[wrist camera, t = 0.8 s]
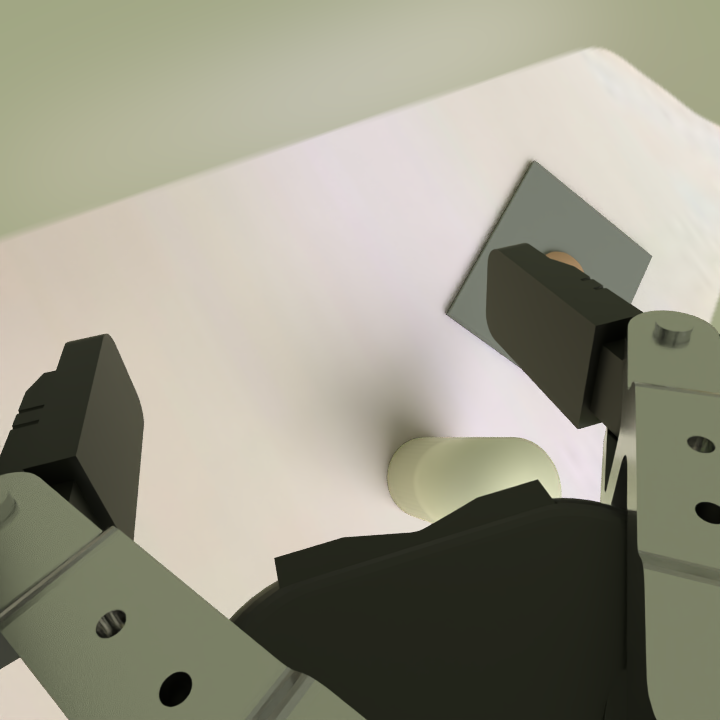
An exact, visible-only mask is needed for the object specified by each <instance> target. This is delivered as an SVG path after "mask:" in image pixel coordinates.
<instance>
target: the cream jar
mask: <svg viewBox="0 0 720 720" xmlns="http://www.w3.org/2000/svg"><path fill="white" fill-rule="evenodd" d="M537 479H538V480H539V481H540V483H541V484H542V485H543V487H544V488H545V489H546V491H547V492H548V493H549V495H550V496H551V497H552V498H561V484H560V479H559V475H558V472H557V470H556V467H555V465H554V463H553V462H552V460H551V459H550V457H549V456H548V455H547V453H546V452H545V451H544V450H543V449H542V448H540V447H539V446H538V445H536V444H535V443H533V442H531V441H529V440H526V439H522V438H516V437H421V438H415V439H412V440H410V441H408V442H406V443H405V444H403V445H402V446H401V447H400V448H399V449H398V450H397V451H396V452H395V454H394V455H393V457H392V459H391V461H390V464H389V468H388V474H387V483H388V488H389V492H390V494H391V497H392V499H393V500H394V502H395V503H396V505H397V506H398V507H399V508H400V509H401V510H402V511H404V512H405V513H407V514H408V515H410V516H413V517H416V518H419V519H422V520H425V521H427V522H430V523H435V522H436V521H438V520H440V519H441V518H443V517H445V516H447V515H448V514H450V513H452V512H453V511H455V510H457V509H458V508H460V507H462V506H464V505H465V504H467V503H469V502H470V501H472V500H474V499H475V498H477V497H480V496H484V495H487V494H490V493H494V492H497V491H500V490H504V489H507V488H510V487H514V486H517V485H521V484H524V483H527V482H531V481H534V480H537Z"/></svg>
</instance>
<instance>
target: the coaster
mask: <svg viewBox="0 0 720 720" xmlns="http://www.w3.org/2000/svg"><path fill="white" fill-rule="evenodd" d="M546 256H547V257H549V258H550V259H554V260H557V261H560V262H563V263H566V264H569V265H572V266H575V267H576V268H578V269H579V270H581V271H582V272H584V271H583V269H582V267H581V265H580V264H579V263H578V262H577V261H576V260H575V259H574V258H573V257H572V256H570V255H568V254H566V253H564V252H551V253H548V254H546Z"/></svg>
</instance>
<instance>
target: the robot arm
mask: <svg viewBox="0 0 720 720" xmlns="http://www.w3.org/2000/svg"><path fill="white" fill-rule="evenodd" d="M486 320H487V325H488V328H489V331H490V333H491V335H492V337H493V338H494V340H495V341H496V342H497V343H498V344H499V345H500V346H501V347H502V348H503V349H504V350H505V352H506V353H507V354H508V355H509V356H510V357H511V358H512V359H513V360H514V361H515V362H516V363H517V364H518V366H519V367H520V368H521V369H522V370H523V371H524V372H525V373H526V374H527V375H528V376H529V377H530V378H531V380H532V381H533V382H534V383H535V384H536V385H537V386H538V387H539V388H540V389H541V390H542V391H543V392H544V393H545V395H546V396H547V397H548V398H549V399H550V400H551V401H552V402H553V403H554V404H555V405H556V406H557V407H558V409H559V410H560V411H561V412H562V413H563V414H564V415H565V416H566V417H567V418H568V419H569V420H570V421H571V423H572V424H573V425H574V426H575V427H576V428H577V429H581V428H584V427H588V426H591V425H595V424H598V423H603V424H604V425H605V426H606V431H605V436H604V441H603V459H602V478H601V497H600V502H595V501H590V500H583V499H574V498H552V497H551V496H550V495H549V493H548V492H547V491H546V489H545V488H544V487H543V485H542V484H541V483H540V481H539V480H538V479H537V480H534V481H531V482H527V483H524V484H521V485H517V486H514V487H510V488H507V489H504V490H500V491H497V492H494V493H490V494H487V495H484V496H480V497H477V498H475V499H474V500H472V501H470V502H469V503H467V504H465V505H464V506H462V507H460V508H458V509H457V510H455V511H453V512H452V513H450V514H448V515H447V516H445V517H443V518H441V519H440V520H438V521H436V522H435V523H433V524H431V525H429V526H428V527H426V528H424V529H422V530H420V531H417V532H411V533H398V534H385V535H371V536H357V537H343V538H340V539H337V540H333V541H330V542H327V543H323V544H320V545H316V546H313V547H310V548H306V549H303V550H300V551H296V552H293V553H290V554H286V555H283V556H280V557H276V558H274V559H275V565H276V571H277V577H278V581H276V582H275V583H273V584H271V585H269V586H268V587H266V588H265V589H263V590H262V591H261V592H259V593H258V594H256V595H255V596H254V597H252V598H251V599H250V600H249V601H248V602H247V603H245V604H244V605H243V606H242V607H241V608H240V609H239V610H238V611H237V612H236V613H235V614H234V615H233V616H232V617H231V618H230V619H228V618H226V617H225V616H224V615H223V614H222V613H220V612H219V611H218V610H217V609H215V608H214V607H213V606H212V605H211V604H209V603H208V602H207V601H206V600H204V599H203V598H202V597H201V596H200V595H198V594H197V593H196V592H195V591H194V590H192V589H191V588H190V587H189V586H187V585H186V584H185V583H184V582H183V581H181V580H180V579H179V578H178V577H176V576H175V575H174V574H173V573H172V572H170V571H169V570H168V569H167V568H165V567H164V566H163V565H162V564H161V563H159V562H158V561H157V560H156V559H155V558H153V557H152V556H151V555H150V554H148V553H147V552H146V551H145V550H144V549H142V548H141V547H140V546H139V545H137V544H136V543H135V542H134V530H135V518H136V507H137V496H138V485H139V474H140V462H141V451H142V440H143V429H144V419H143V412H142V408H141V404H140V400H139V398H138V395H137V393H136V390H135V388H134V386H133V383H132V381H131V379H130V377H129V374H128V372H127V370H126V367H125V365H124V363H123V361H122V358H121V356H120V354H119V351H118V349H117V347H116V345H115V343H114V341H113V339H112V338H111V336H110V335H109V334H102V335H98V336H93V337H89V338H84V339H79V340H75V341H70V342H67V343H66V344H65V346H64V349H63V352H62V354H61V357H60V360H59V363H58V366H57V369H56V371H52V372H47V373H44V374H43V375H42V376H41V377H40V378H39V379H38V380H37V381H36V382H35V383H34V384H33V385H32V386H31V387H30V388H29V389H28V390H27V391H26V393H25V395H24V398H23V400H22V403H21V405H20V408H19V410H18V411H19V414H17V415H16V418H15V420H14V423H13V425H12V427H13V430H10V433H9V435H8V438H7V440H6V443H5V445H4V448H3V450H2V453H1V455H0V669H1V668H3V667H5V666H6V665H8V664H10V663H11V662H13V661H15V660H17V659H18V658H21V659H22V660H23V661H24V663H25V664H26V665H27V667H28V668H29V669H30V671H31V672H32V673H33V674H34V676H35V677H36V678H37V680H38V681H39V682H40V683H41V685H42V686H43V687H44V689H45V690H46V691H47V692H48V694H49V695H50V696H51V698H52V699H53V700H54V701H55V703H56V704H57V705H58V707H59V708H60V709H61V710H62V712H63V713H64V714H65V716H66V717H67V718H68V719H69V720H720V334H718V332H717V330H716V329H715V328H714V327H713V326H712V325H711V324H709V323H708V322H706V321H704V320H702V319H700V318H698V317H695V316H692V315H689V314H686V313H681V312H675V311H649V312H645V313H643V312H642V311H640V310H639V309H637V308H636V307H634V306H633V305H631V304H630V303H628V302H627V301H625V300H624V299H622V298H621V297H619V296H618V295H616V294H615V293H613V292H612V291H610V290H609V289H607V288H603V285H602V284H600V283H599V282H597V281H596V280H594V279H590V276H588V275H587V274H585V273H584V272H582V271H581V270H579V269H578V268H576V267H575V266H572V265H569V264H566V263H563V262H560V261H557V260H554V259H550V258H549V257H547V256H546V255H544V254H543V253H541V252H540V251H539V250H537V249H536V248H534V247H533V246H531V245H530V244H528V243H521V244H516V245H512V246H507V247H502V248H498V249H494V250H492V251H491V252H490V254H489V257H488V264H487V293H486Z"/></svg>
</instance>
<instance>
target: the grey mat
mask: <svg viewBox="0 0 720 720" xmlns="http://www.w3.org/2000/svg"><path fill="white" fill-rule="evenodd" d="M521 243H528V244H530V245H531V246H533V247H534V248H536V249H537V250H539V251H540V252H541V253H543V254H544V255H546V254H548V253H551V252H564V253H566V254H568V255H570V256H572V257H573V258H574V259H575V260H576V261H577V262H578V263H579V264H580V265H581V267H582V269H583V271H584V273H585V274H587V275H588V276H590V279H594V280H596V281H597V282H599V283H600V284H602V285H603V288H607V289H609V290H610V291H612V292H613V293H615V294H616V295H618V296H619V297H621V298H622V299H624V300H625V301H627V302H628V303H630V304H631V303H632V300H633V298H634V296H635V294H636V291H637V289H638V287H639V285H640V282H641V280H642V278H643V276H644V274H645V271H646V269H647V267H648V265H649V262H650V260H651V258H652V256H651V255H650V254H649V253H648V252H646V251H645V250H644V249H643V248H642V247H640V246H639V245H638V244H637V243H635V242H634V241H633V240H632V239H630V238H629V237H628V236H627V235H626V234H624V233H623V232H622V231H621V230H619V229H618V228H617V227H616V226H615V225H613V224H612V223H611V222H610V221H608V220H607V219H606V218H605V217H604V216H602V215H601V214H600V213H599V212H597V211H596V210H595V209H594V208H593V207H591V206H590V205H589V204H588V203H586V202H585V201H584V200H583V199H582V198H580V197H579V196H578V195H577V194H575V193H574V192H573V191H572V190H570V189H569V188H568V187H567V186H566V185H564V184H563V183H562V182H561V181H559V180H558V179H557V178H556V177H555V176H553V175H552V174H551V173H550V172H548V171H547V170H546V169H545V168H544V167H542V166H541V165H540V164H539V163H537V162H536V161H534V162H532V163H531V165H530V167H529V169H528V170H527V172H526V174H525V176H524V177H523V179H522V181H521V183H520V185H519V186H518V188H517V190H516V192H515V193H514V195H513V197H512V199H511V201H510V202H509V204H508V206H507V208H506V209H505V211H504V213H503V215H502V216H501V218H500V220H499V222H498V224H497V225H496V227H495V229H494V231H493V232H492V234H491V236H490V238H489V240H488V241H487V243H486V245H485V247H484V248H483V250H482V252H481V254H480V256H479V257H478V259H477V261H476V263H475V264H474V266H473V268H472V270H471V272H470V273H469V275H468V277H467V279H466V280H465V282H464V284H463V286H462V287H461V289H460V291H459V293H458V295H457V296H456V298H455V300H454V302H453V303H452V305H451V307H450V309H449V311H448V312H447V314H446V315H448V316H449V317H450V318H452V319H453V320H455V321H456V322H457V323H459V324H460V325H462V326H463V327H464V328H466V329H467V330H468V331H470V332H471V333H473V334H474V335H475V336H477V337H478V338H480V339H481V340H482V341H484V342H485V343H487V344H488V345H489V346H491V347H492V348H493V349H495V350H496V351H498V352H499V353H500V354H502V355H503V356H505V357H506V358H507V359H509V360H510V361H512V362H513V363H514V364H516V365H517V366H518V364H517V363H516V362H515V361H514V360H513V359H512V358H511V357H510V356H509V355H508V354H507V353H506V352H505V350H504V349H503V348H502V347H501V346H500V345H499V344H498V343H497V342H496V341H495V340H494V338H493V337H492V335H491V333H490V331H489V328H488V325H487V320H486V293H487V264H488V257H489V254H490V252H491V251H492V250H494V249H498V248H502V247H507V246H512V245H516V244H521ZM518 367H519V366H518Z"/></svg>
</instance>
